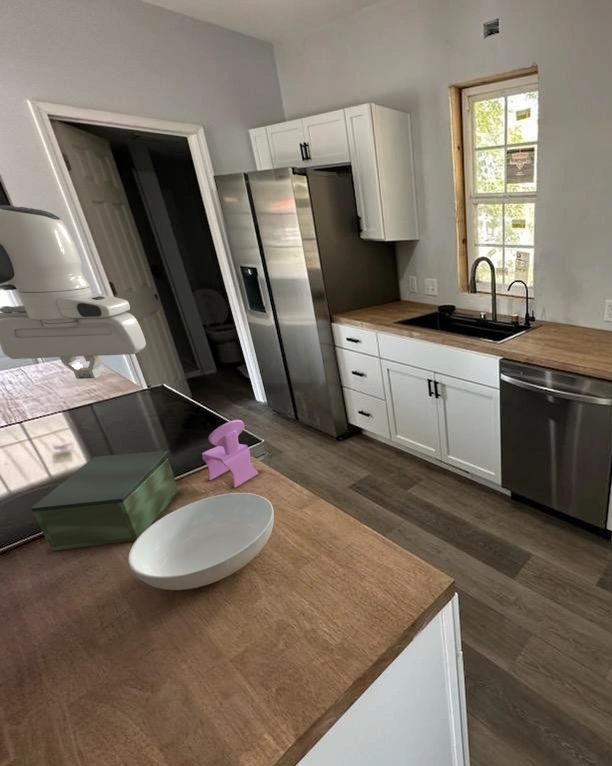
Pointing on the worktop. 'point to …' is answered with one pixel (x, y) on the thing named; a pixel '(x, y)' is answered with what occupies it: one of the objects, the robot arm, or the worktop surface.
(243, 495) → the serving bowl
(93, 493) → the green box lid
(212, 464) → the toy chair
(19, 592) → the worktop surface
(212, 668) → the worktop surface
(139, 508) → the box
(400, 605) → the worktop surface
